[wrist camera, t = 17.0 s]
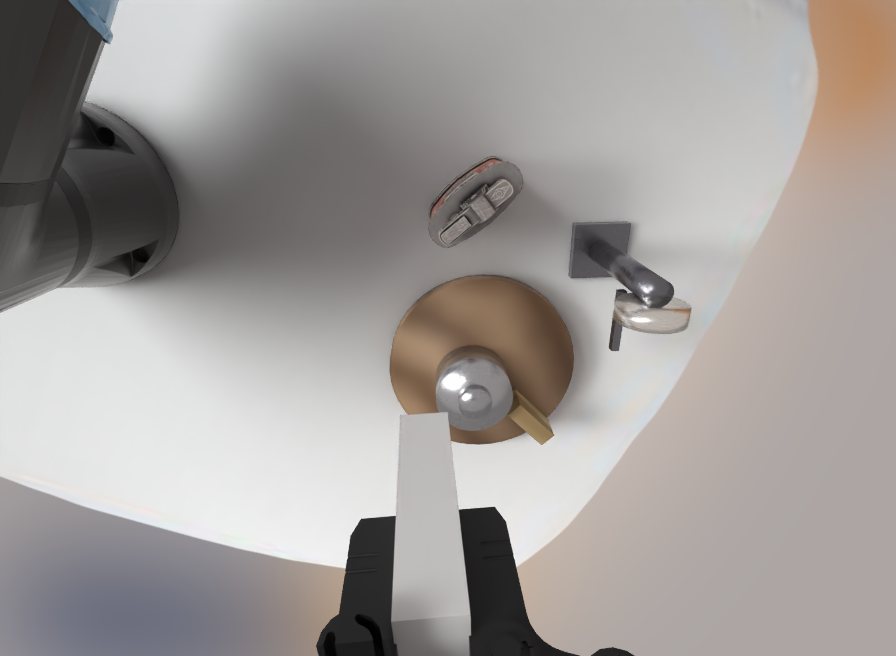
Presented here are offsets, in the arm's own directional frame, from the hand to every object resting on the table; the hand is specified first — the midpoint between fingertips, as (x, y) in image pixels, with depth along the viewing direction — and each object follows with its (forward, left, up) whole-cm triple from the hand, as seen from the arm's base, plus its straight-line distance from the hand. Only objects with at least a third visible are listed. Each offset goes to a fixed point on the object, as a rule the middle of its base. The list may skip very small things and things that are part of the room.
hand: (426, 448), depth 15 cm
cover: (+4, -13, -27) cm, 30 cm away
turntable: (+5, -12, -30) cm, 33 cm away
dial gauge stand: (+16, -3, -30) cm, 34 cm away
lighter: (+4, +4, -30) cm, 31 cm away
